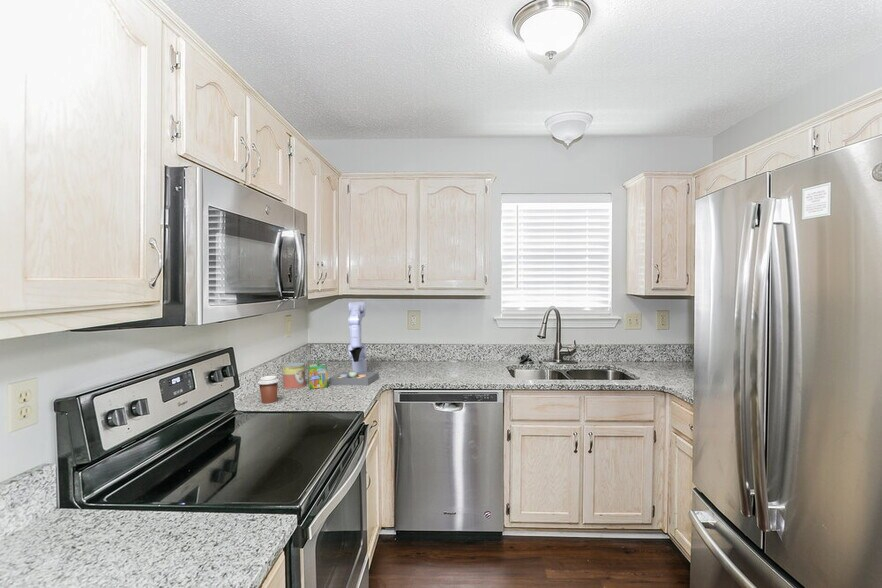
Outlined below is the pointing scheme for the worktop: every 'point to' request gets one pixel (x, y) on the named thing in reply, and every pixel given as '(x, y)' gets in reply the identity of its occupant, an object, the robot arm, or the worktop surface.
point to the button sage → (352, 374)
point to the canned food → (294, 375)
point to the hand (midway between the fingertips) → (356, 361)
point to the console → (354, 379)
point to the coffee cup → (268, 389)
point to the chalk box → (317, 375)
